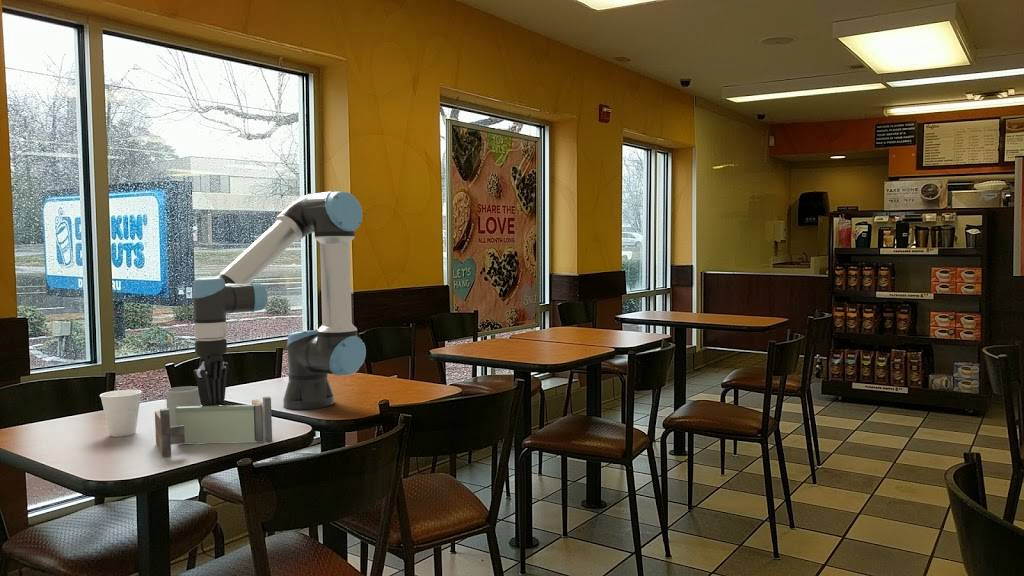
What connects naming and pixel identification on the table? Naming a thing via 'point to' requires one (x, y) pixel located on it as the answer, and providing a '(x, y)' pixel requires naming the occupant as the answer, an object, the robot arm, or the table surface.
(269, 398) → the hinge post
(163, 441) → the post
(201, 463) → the table surface
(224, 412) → the gate
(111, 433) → the cup
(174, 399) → the mug
